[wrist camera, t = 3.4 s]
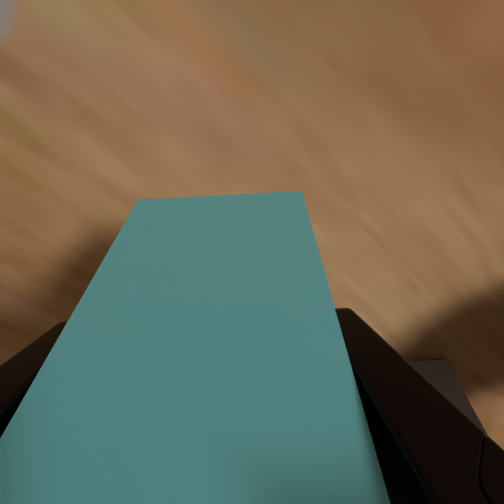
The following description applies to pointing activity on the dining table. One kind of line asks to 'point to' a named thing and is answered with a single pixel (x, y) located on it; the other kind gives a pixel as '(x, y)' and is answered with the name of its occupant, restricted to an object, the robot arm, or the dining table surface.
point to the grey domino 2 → (447, 385)
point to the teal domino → (198, 371)
